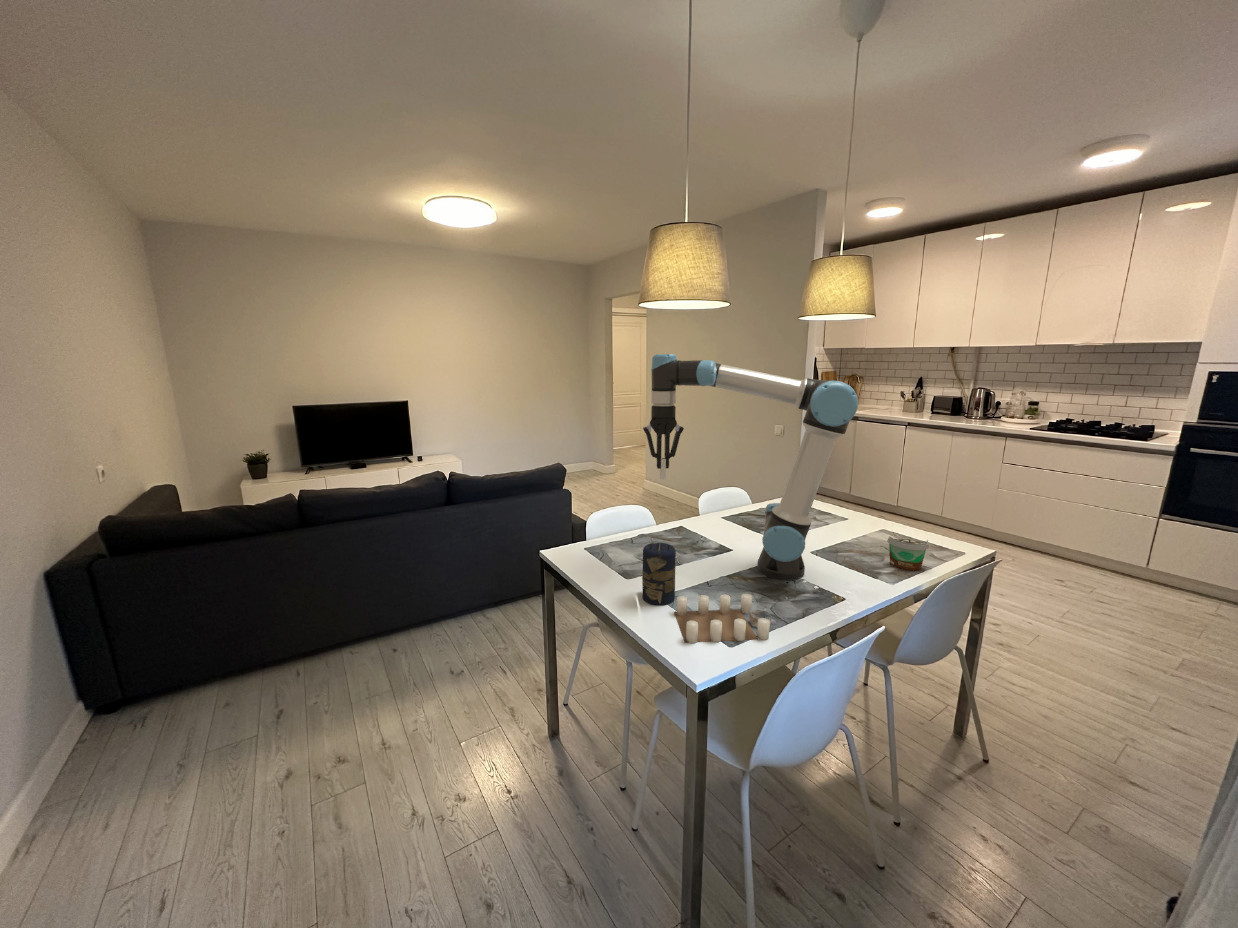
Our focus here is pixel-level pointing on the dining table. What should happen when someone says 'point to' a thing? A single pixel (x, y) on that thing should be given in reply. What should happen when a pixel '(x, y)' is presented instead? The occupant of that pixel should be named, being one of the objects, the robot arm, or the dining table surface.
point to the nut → (756, 615)
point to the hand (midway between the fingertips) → (662, 478)
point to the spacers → (717, 624)
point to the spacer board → (705, 623)
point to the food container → (907, 553)
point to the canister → (658, 574)
